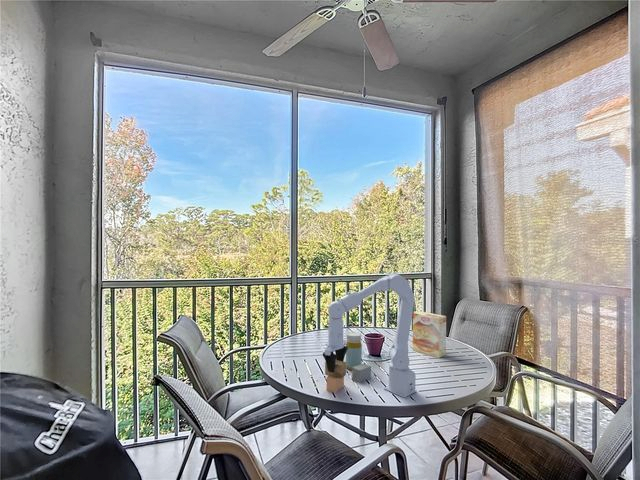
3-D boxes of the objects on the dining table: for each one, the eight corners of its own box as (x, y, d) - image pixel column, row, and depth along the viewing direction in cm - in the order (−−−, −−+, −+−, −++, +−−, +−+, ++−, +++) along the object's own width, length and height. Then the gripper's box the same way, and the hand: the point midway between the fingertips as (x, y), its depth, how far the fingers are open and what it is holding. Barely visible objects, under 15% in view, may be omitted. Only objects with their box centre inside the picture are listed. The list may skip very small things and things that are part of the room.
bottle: (363, 366, 152) (364, 333, 151) (357, 372, 145) (357, 337, 145) (349, 363, 155) (350, 331, 155) (343, 368, 149) (343, 334, 149)
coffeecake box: (412, 350, 174) (412, 312, 174) (419, 347, 179) (420, 310, 179) (438, 358, 163) (439, 317, 163) (446, 354, 168) (446, 315, 168)
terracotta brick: (334, 383, 134) (334, 370, 134) (343, 385, 132) (343, 372, 132) (326, 390, 128) (326, 377, 128) (336, 392, 126) (336, 379, 126)
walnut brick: (346, 374, 130) (346, 362, 130) (341, 378, 127) (341, 365, 127) (329, 371, 134) (330, 358, 134) (325, 374, 130) (325, 361, 130)
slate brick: (363, 375, 143) (363, 363, 143) (370, 378, 140) (371, 366, 140) (352, 379, 138) (352, 367, 138) (359, 382, 135) (359, 370, 135)
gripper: (334, 327, 138) (334, 360, 138) (317, 336, 126) (317, 372, 126) (350, 329, 135) (350, 363, 135) (334, 339, 122) (334, 376, 122)
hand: (335, 368), depth 130 cm, fingers open, 7 cm apart
